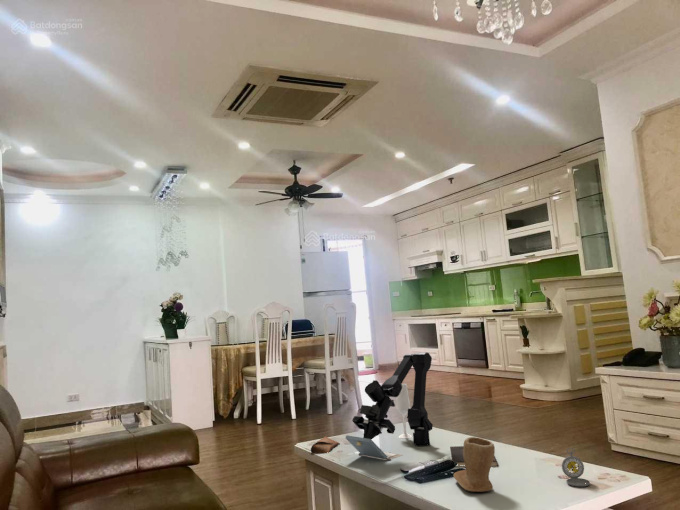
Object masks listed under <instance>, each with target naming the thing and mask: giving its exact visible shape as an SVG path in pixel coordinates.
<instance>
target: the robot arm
mask: <svg viewBox="0 0 680 510" xmlns="http://www.w3.org/2000/svg"><path fill="white" fill-rule="evenodd" d="M402 357H403V358H402V360H401V361H400V363H399V364H398V366H397V368H396V370H394V373H393V374H392V375H391V376H390V377H389V378H387V379H385V381H384V382H383V383H382V385H381V384H380V383H379V381H378V380H372V382H369V383H368V384H367V385H365V387H364V392H365V394H366V395H367V396H368V397H369V398H370V400H371V401H372V402H374V403H375V404H372V405H371V406H370V405H365V404H361V406H360V411H359V414H361V415H354V416H353V418H352V420H351V422H352V423H353V424H355V426H356V427H357V428H358V429H360V430H363V437H362V438H367V439H371V440H372V439H374V438H376V437H377V436H379V435H381V434H382V432H383V431H382V430H383V429H386V433H387V434H392V435H393V434H394V433H395V430H396V427H395V425H394V424H393V422H392V421H391V420H390V419H388V417H389V416H388V412H389V410H390V408H392V407H395V408H396V404H395V400H394V399H392V398H396V397H398V396H399V394H400V392H401V390H402V384H403V383H404V382H403V381H404V380H405V379H406V378H407V375H408V374H409V372H410V370H411V369H412V367H413V370H414V385H413V386H414V387H413V388H414V389H413V397H412V398H413V400H412V406H410V407H411V408H410V409H408V413H407V415H406V418H407V422H408V426H409V429H410V430H413V431H414V432H412V436H413V437H412V440H413V441H412V442H413V444H414V446H416V447H418V446H419V447H423V446H431V441H430V431H432V430H433V426H434V425H433V423H432V422H431V420H429V417H428V411H427V409H426V407H425V402H426V388H427V387H426V386H427V373H428V372H429V370H430V369H431V365H432V356H431V354H430V353H429V352H414V353H405V354H404V355H403V356H402ZM362 415H365V416H362ZM364 417H365V418H364Z"/></svg>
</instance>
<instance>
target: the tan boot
mask: <svg viewBox="0 0 680 510" xmlns="http://www.w3.org/2000/svg"><path fill="white" fill-rule="evenodd" d="M463 441H464V442H463V446H464V448H463V457H464V461H465V466H464V467H465V469H463V470H458V471H456V472H454V473H453V477H454V480H456V482H457V483H458V485H460V487H461V488H462V489H464V490H465V491H467V492H474V493H475V492H476V493H477V492H478V493H480V492H481V493H482V492H488V491H492V490H493V484H492V482H491V480H490V477H489V475H490V472H491V471H490V470H491V467H492V466H491V465H492V462H493V459H494V456H495V452H496V449H495V445H494V443H493V442H492V441H490V440H488V439H484V438H482V437H476V436H469V437H466V438H465V440H463Z"/></svg>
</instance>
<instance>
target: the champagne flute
mask: <svg viewBox="0 0 680 510" xmlns="http://www.w3.org/2000/svg"><path fill="white" fill-rule="evenodd" d="M395 399H396V400H395V401H396V402H395V403H396V404H395V408H396V411H397V412H398V414H400V415H401V416H402V425H403V433H402V434H400V435H399V436H398V438H399V439H411V438H412V439H413V435H411V434H409V433H408V432H407V421H406V416H407V415H408V409H411V407H412V406H411V402H410V396H409V391H408V384H407V383H402V390H401V392H400V394H399V396H398V397H395Z"/></svg>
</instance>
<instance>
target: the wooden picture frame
mask: <svg viewBox="0 0 680 510" xmlns="http://www.w3.org/2000/svg"><path fill="white" fill-rule="evenodd" d="M383 452H384V453H385V454H386V455H387V459H383V460H384V461H386V462H391V461H392V459H396V458H399V457H401V456H403V454H398V453H392V452H387V451H383ZM358 456H360V457H361V456H364V457H366V456H365V455H362V454H361V453H360V452H358ZM367 457H368V458H371V457H370V456H367ZM372 458H374V459H379V460H382V459H381V458H376V457H372Z"/></svg>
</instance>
